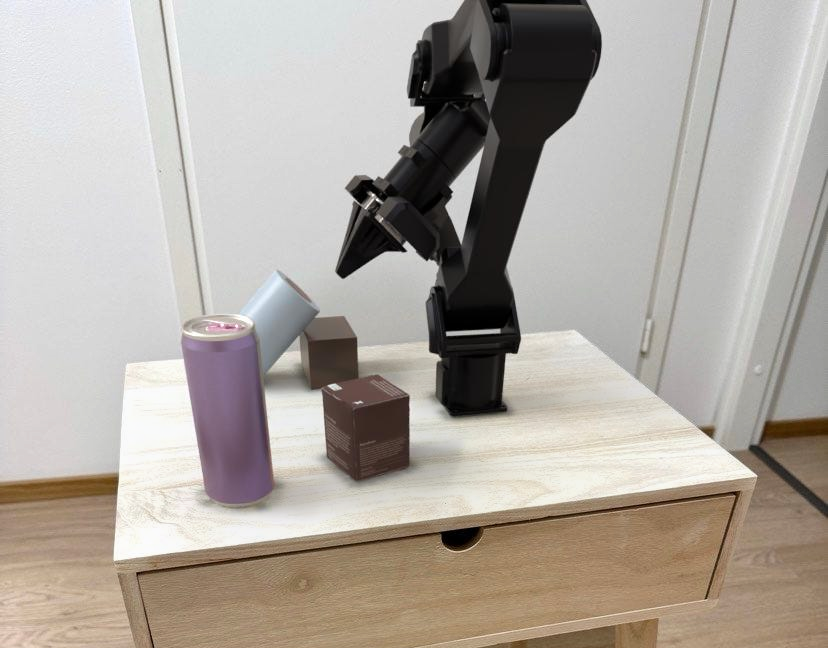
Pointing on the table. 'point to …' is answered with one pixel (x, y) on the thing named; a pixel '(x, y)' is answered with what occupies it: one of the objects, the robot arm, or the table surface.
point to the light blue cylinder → (279, 316)
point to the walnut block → (329, 351)
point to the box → (367, 426)
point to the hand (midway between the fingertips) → (338, 275)
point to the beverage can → (229, 407)
